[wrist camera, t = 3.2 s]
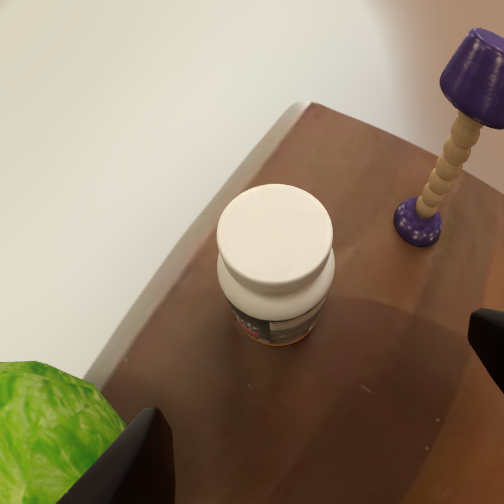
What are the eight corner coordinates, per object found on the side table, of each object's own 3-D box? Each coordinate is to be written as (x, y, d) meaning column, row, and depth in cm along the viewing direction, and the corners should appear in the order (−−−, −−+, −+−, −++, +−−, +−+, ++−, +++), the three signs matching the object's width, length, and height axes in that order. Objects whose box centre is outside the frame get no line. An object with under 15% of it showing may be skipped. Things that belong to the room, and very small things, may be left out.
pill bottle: (222, 292, 22) (181, 210, 13) (292, 254, 23) (294, 156, 14) (261, 364, 20) (242, 325, 11) (336, 319, 20) (373, 248, 12)
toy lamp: (437, 259, 21) (551, 82, 7) (384, 242, 23) (464, 37, 8) (440, 211, 23) (522, 42, 9) (392, 195, 25) (448, 8, 10)
